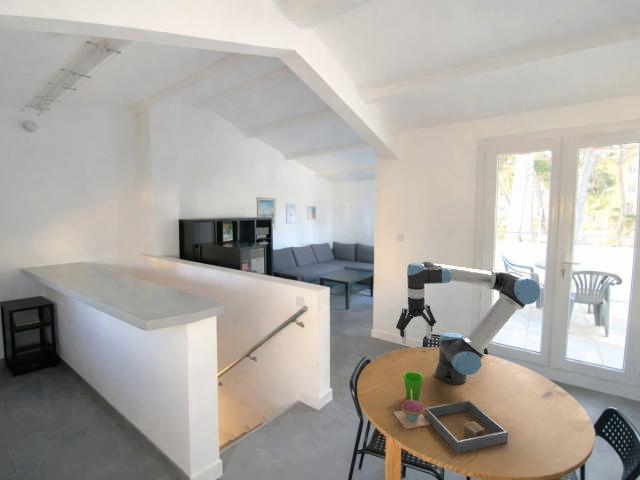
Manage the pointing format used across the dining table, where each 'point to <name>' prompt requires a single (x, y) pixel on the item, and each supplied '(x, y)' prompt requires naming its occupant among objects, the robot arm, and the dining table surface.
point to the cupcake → (412, 408)
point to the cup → (413, 384)
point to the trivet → (408, 423)
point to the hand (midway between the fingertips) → (416, 340)
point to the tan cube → (473, 430)
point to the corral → (471, 443)
